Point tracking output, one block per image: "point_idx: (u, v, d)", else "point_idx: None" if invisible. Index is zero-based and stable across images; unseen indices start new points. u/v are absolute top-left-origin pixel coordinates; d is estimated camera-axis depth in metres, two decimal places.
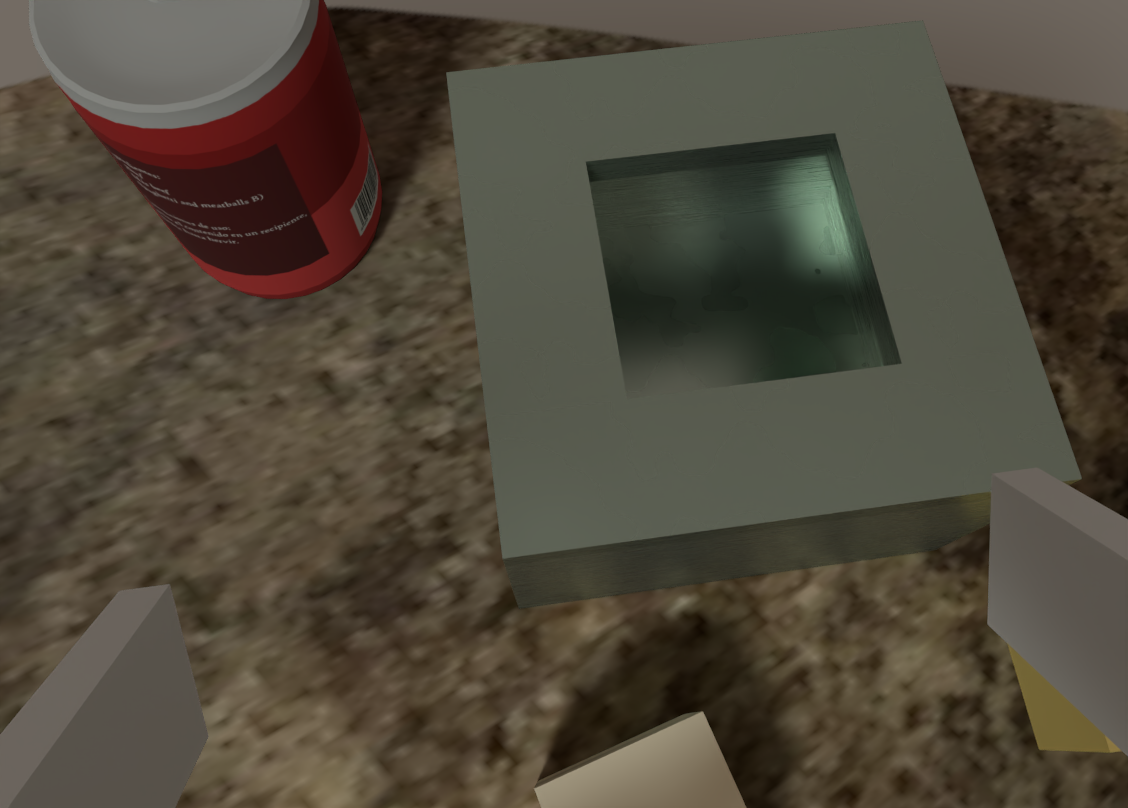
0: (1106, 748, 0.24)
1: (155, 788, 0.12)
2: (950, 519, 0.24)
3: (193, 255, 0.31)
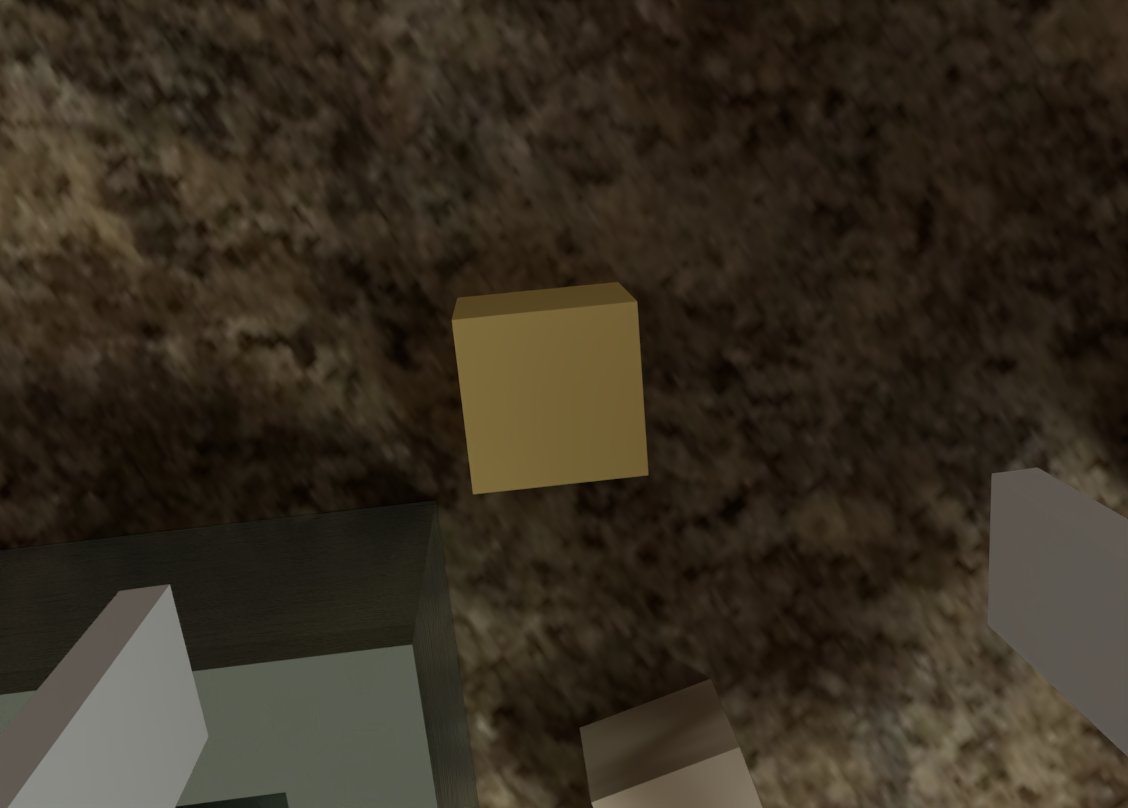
0: (644, 474, 0.26)
1: (156, 788, 0.12)
2: (432, 645, 0.24)
3: None
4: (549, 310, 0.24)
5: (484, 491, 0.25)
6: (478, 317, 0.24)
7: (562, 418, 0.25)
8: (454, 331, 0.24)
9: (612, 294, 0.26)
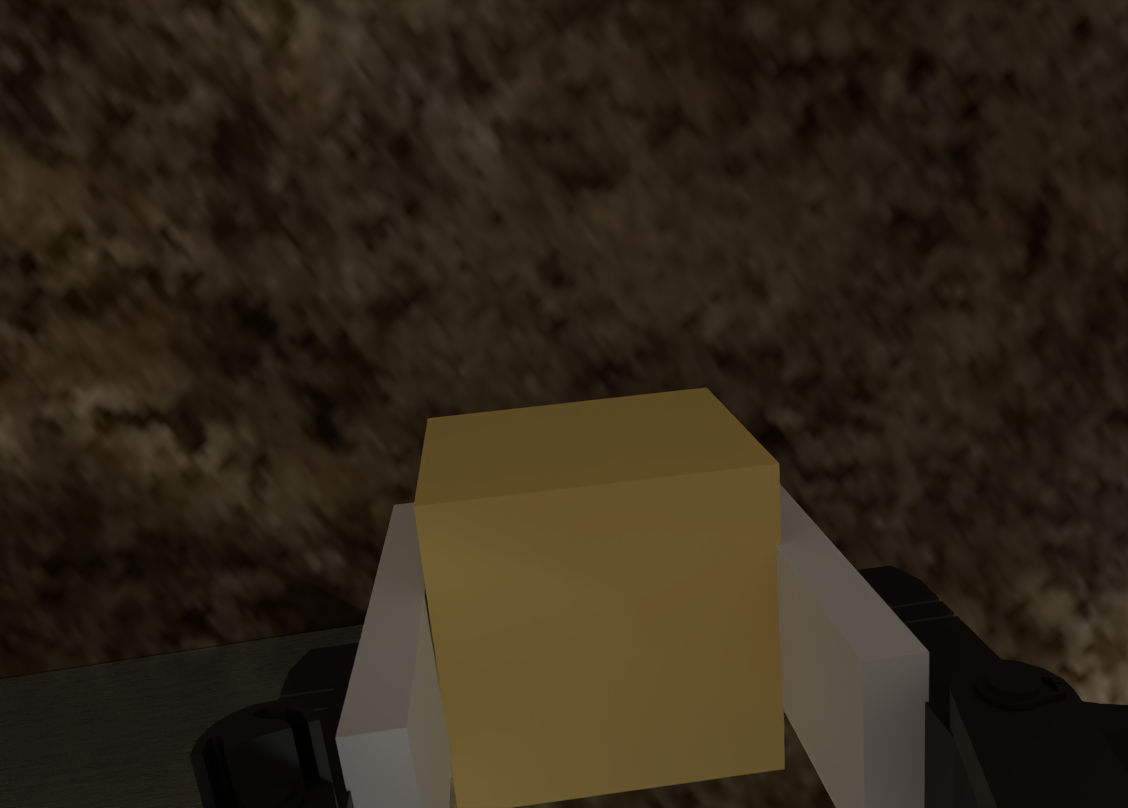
0: None
1: None
2: None
3: None
4: (607, 483, 0.12)
5: None
6: (467, 500, 0.12)
7: (629, 679, 0.13)
8: (419, 527, 0.12)
9: (716, 432, 0.14)
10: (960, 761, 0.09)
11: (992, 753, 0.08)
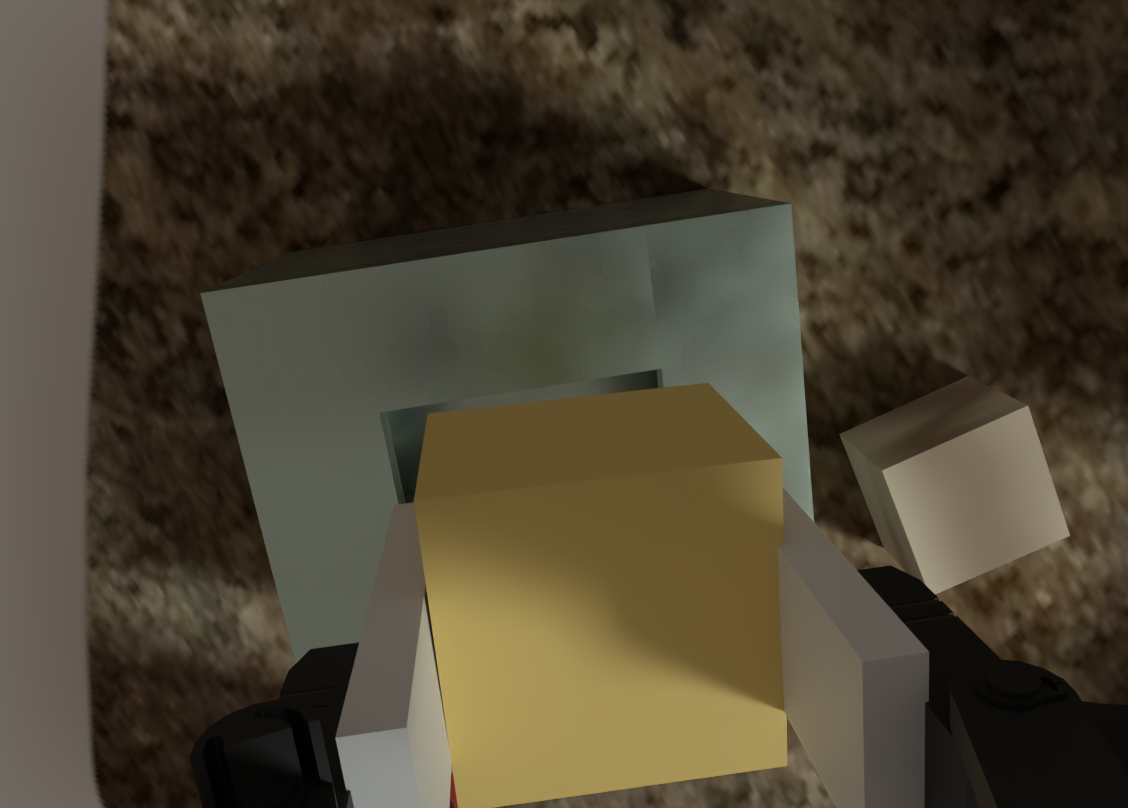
0: None
1: None
2: None
3: None
4: (609, 478, 0.12)
5: (480, 807, 0.13)
6: (467, 494, 0.12)
7: (631, 674, 0.13)
8: (419, 522, 0.12)
9: (718, 427, 0.14)
10: (960, 761, 0.09)
11: (992, 753, 0.08)
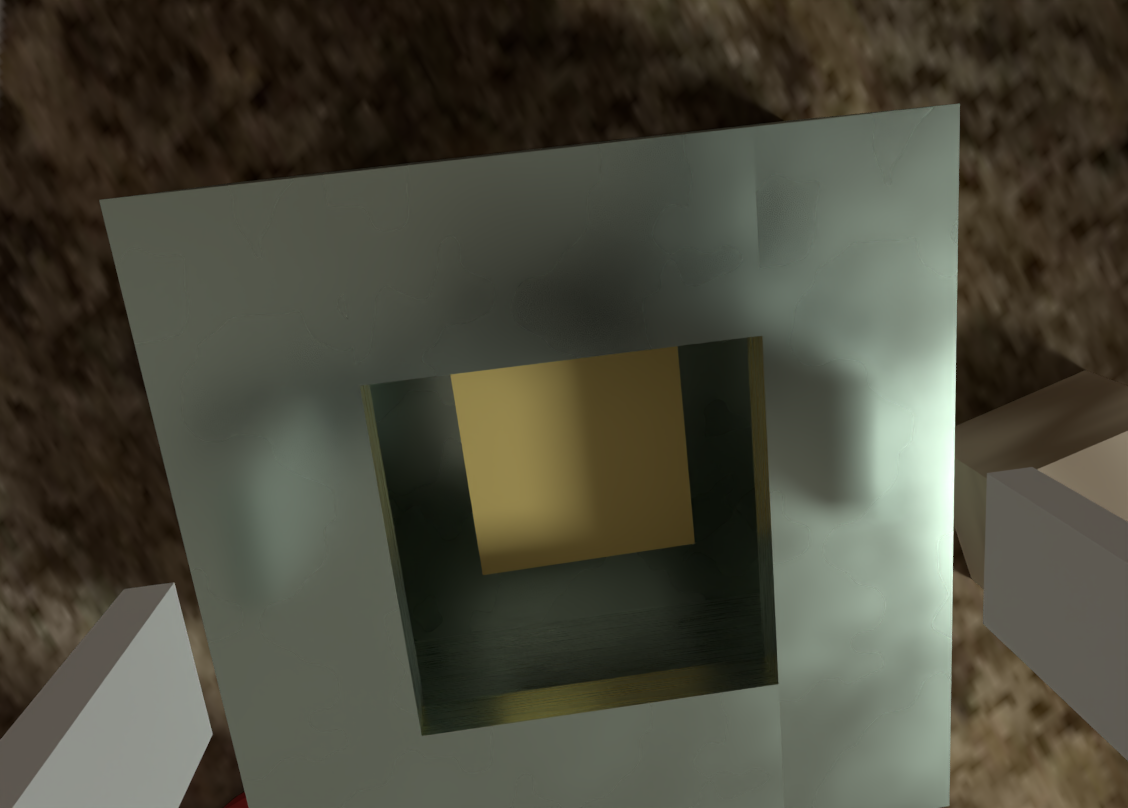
0: (689, 542, 0.21)
1: (161, 785, 0.12)
2: None
3: None
4: None
5: (496, 571, 0.21)
6: None
7: (589, 480, 0.20)
8: (453, 380, 0.20)
9: None
10: None
11: None
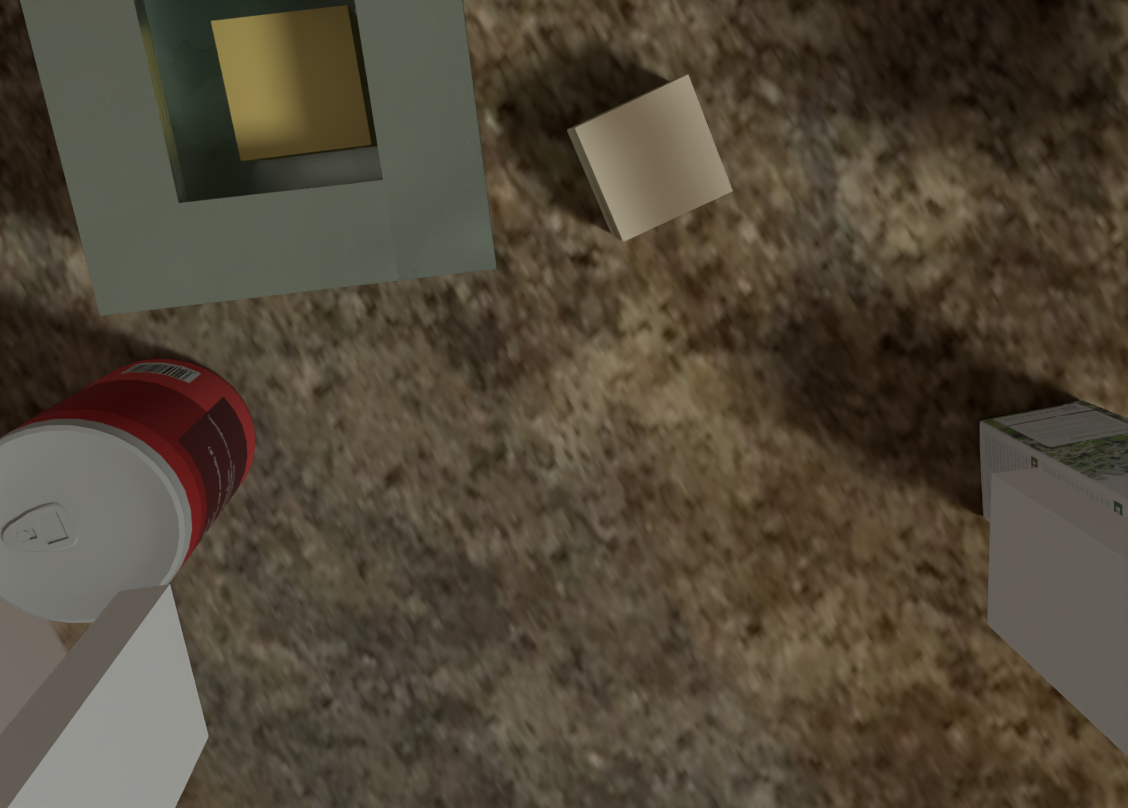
0: (369, 145, 0.35)
1: (156, 787, 0.12)
2: None
3: None
4: (282, 13, 0.33)
5: (248, 158, 0.34)
6: (230, 19, 0.33)
7: (301, 98, 0.34)
8: (214, 30, 0.33)
9: None
10: None
11: None
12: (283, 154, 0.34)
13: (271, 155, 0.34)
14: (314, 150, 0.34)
